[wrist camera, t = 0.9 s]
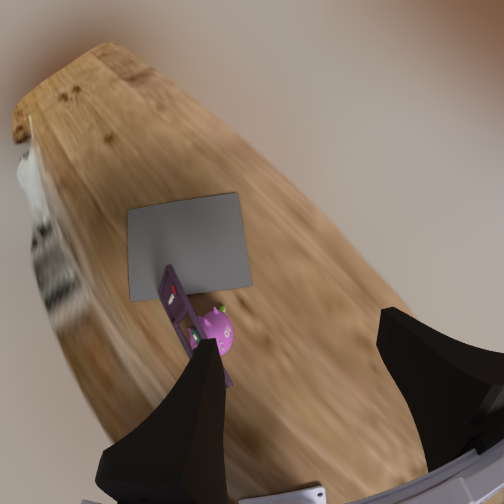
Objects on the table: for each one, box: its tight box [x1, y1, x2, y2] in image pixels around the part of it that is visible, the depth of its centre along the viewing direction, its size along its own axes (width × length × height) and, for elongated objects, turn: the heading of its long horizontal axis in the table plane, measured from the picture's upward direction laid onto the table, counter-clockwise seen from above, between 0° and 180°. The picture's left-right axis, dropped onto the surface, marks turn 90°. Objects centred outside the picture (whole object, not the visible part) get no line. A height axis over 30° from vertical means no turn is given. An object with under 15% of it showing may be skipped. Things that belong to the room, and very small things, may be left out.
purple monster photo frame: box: [158, 264, 233, 388], centre depth 22 cm, size 7×5×9 cm
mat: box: [128, 193, 252, 302], centre depth 26 cm, size 9×11×1 cm
